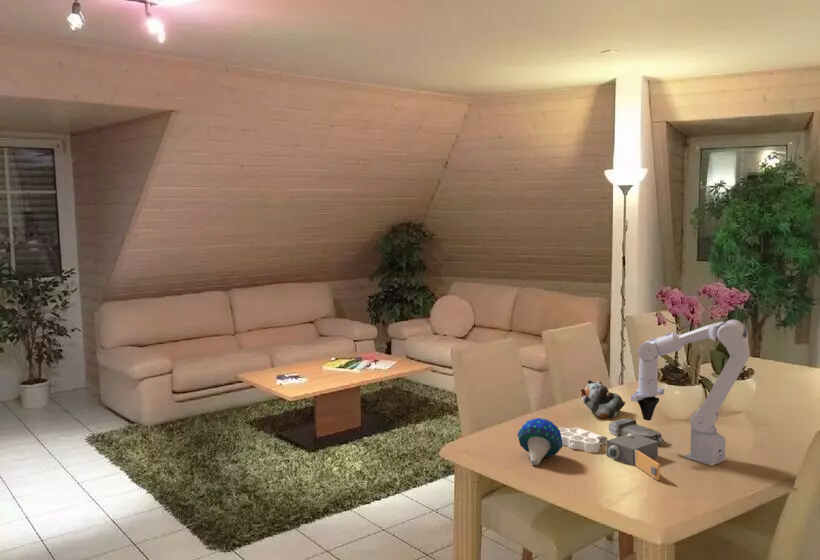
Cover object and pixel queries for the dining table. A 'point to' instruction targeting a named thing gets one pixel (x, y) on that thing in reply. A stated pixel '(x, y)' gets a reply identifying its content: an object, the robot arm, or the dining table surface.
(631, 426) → the handheld device
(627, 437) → the grey box with knob
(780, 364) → the dining table surface
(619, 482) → the dining table surface
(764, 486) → the dining table surface
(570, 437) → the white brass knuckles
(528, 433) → the mushroom
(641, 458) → the side door
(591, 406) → the lucky cat figurine
